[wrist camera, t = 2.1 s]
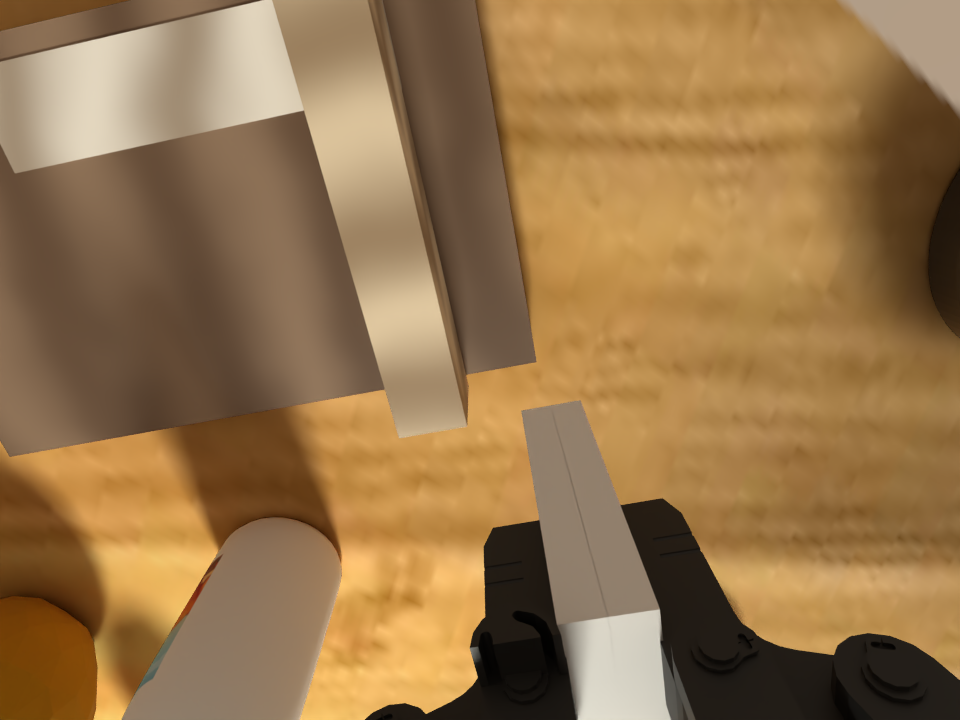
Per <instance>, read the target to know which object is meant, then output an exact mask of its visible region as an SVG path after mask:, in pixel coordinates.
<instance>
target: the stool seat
mask: <svg viewBox="0 0 960 720" xmlns="http://www.w3.org/2000/svg"><path fill="white" fill-rule="evenodd" d="M382 4H383V9H384V13H385V18H386V22H387V26H388V31H389V35H390V40H391V44H392V49H393V53H394V57H395V62H396V66H397V71H398V75H399V80H400V84H401V89H402V93H403V97H404V102H405V106H406V111H407V115H408V120H409V124H410V129H411V133H412V137H413V142H414V146H415V151H416V155H417V160H418V164H419V168H420V173H421V177H422V182H423V186H424V191H425V195H426V200H427V204H428V208H429V213H430V217H431V222H432V226H433V231H434V235H435V240H436V244H437V248H438V253H439V257H440V262H441V266H442V271H443V275H444V279H445V284H446V288H447V293H448V297H449V302H450V306H451V311H452V315H453V319H454V324H455V328H456V333H457V337H458V342H459V346H460V351H461V355H462V359H463V364H464V368H465V373H466V375H467V374H473V373H478V372H484V371H489V370H495V369H500V368H506V367H511V366H517V365H523V364H528V363H534V362H536V356H535V350H534V344H533V338H532V333H531V327H530V321H529V315H528V309H527V303H526V297H525V291H524V285H523V280H522V274H521V268H520V262H519V256H518V250H517V244H516V238H515V233H514V227H513V221H512V215H511V209H510V203H509V197H508V191H507V186H506V180H505V174H504V168H503V162H502V156H501V150H500V144H499V138H498V133H497V127H496V121H495V115H494V109H493V103H492V97H491V91H490V86H489V80H488V74H487V68H486V62H485V56H484V50H483V44H482V39H481V33H480V27H479V21H478V15H477V9H476V3H475V0H382ZM384 389H385V388H384V384H383V381H382V378H381V374H380V371H379V367H378V364H377V360H376V357H375V353H374V350H373V346H372V343H371V340H370V336H369V333H368V329H367V326H366V322H365V319H364V315H363V312H362V309H361V305H360V302H359V298H358V295H357V291H356V288H355V284H354V281H353V277H352V274H351V271H350V267H349V264H348V260H347V257H346V253H345V250H344V246H343V243H342V240H341V236H340V233H339V229H338V226H337V222H336V219H335V215H334V212H333V208H332V205H331V202H330V198H329V195H328V191H327V188H326V184H325V181H324V177H323V174H322V171H321V167H320V164H319V160H318V157H317V153H316V150H315V146H314V143H313V139H312V136H311V133H310V129H309V126H308V122H307V119H306V115H305V112H304V108H303V105H302V102H301V98H300V95H299V91H298V88H297V84H296V81H295V77H294V74H293V71H292V67H291V64H290V60H289V57H288V53H287V50H286V46H285V43H284V39H283V36H282V33H281V29H280V26H279V22H278V19H277V15H276V12H275V8H274V5H273V2H272V0H129V1H125V2H121V3H116V4H112V5H108V6H104V7H100V8H95V9H91V10H87V11H83V12H79V13H74V14H70V15H66V16H62V17H58V18H53V19H49V20H45V21H41V22H37V23H32V24H28V25H24V26H20V27H16V28H11V29H7V30H3V31H0V441H1V443H2V445H3V446H4V448H5V450H6V451H7V453H8V454H9V456H10V457H11V456H17V455H23V454H28V453H34V452H39V451H45V450H50V449H56V448H61V447H67V446H73V445H78V444H84V443H89V442H95V441H100V440H106V439H111V438H117V437H123V436H128V435H134V434H139V433H145V432H150V431H156V430H161V429H167V428H173V427H178V426H184V425H189V424H195V423H200V422H206V421H211V420H217V419H223V418H228V417H234V416H239V415H245V414H250V413H256V412H261V411H267V410H273V409H278V408H284V407H289V406H295V405H300V404H306V403H311V402H317V401H323V400H328V399H334V398H339V397H345V396H350V395H356V394H361V393H367V392H373V391H378V390H384Z"/></svg>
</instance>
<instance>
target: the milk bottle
mask: <svg viewBox="0 0 960 720" xmlns="http://www.w3.org/2000/svg"><path fill="white" fill-rule="evenodd" d="M341 577H342V568H341V563H340V559H339V556H338V553H337V551H336V549H335V548H334V546H333V544H332V543H331V542H330V541H329V540H328V538H327V537H326V536H325V535H323V534H322V533H321V532H320V531H318V530H317V529H315V528H313V527H311V526H310V525H308V524H306V523H303V522H300V521H297V520H294V519H288V518H279V517H270V518H262V519H258V520H255V521H252V522H250V523H248V524H246V525H244V526H242V527H240V528H239V529H237V530H236V531H234V532H233V533H232V534H231V535H230V536H229V537H228V538H227V540H226V541H225V543H224V544H223V546H222V547H221V549H220V550H219V552H218V553H217V555H216V557H215V558H214V560H213V562H212V563H211V565H210V567H209V568H208V570H207V572H206V573H205V575H204V577H203V578H202V580H201V582H200V583H199V585H198V587H197V588H196V590H195V592H194V593H193V595H192V597H191V598H190V600H189V602H188V603H187V605H186V607H185V608H184V610H183V612H182V613H181V615H180V617H179V618H178V620H177V622H176V623H175V625H174V627H173V628H172V630H171V632H170V633H169V635H168V637H167V639H166V640H165V642H164V644H163V645H162V647H161V649H160V651H159V652H158V654H157V656H156V657H155V659H154V661H153V662H152V664H151V666H150V668H149V669H148V671H147V673H146V674H145V676H144V678H143V680H142V682H141V683H140V685H139V687H138V689H137V691H136V693H135V694H134V696H133V698H132V700H131V702H130V704H129V705H128V707H127V709H126V711H125V713H124V715H123V718H122V720H300V717H301V714H302V710H303V707H304V704H305V701H306V697H307V694H308V691H309V688H310V684H311V681H312V678H313V675H314V671H315V668H316V665H317V661H318V658H319V655H320V651H321V648H322V645H323V641H324V638H325V635H326V631H327V628H328V624H329V621H330V618H331V614H332V611H333V607H334V604H335V601H336V597H337V594H338V590H339V586H340V582H341Z"/></svg>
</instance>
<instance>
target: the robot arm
mask: <svg viewBox="0 0 960 720" xmlns="http://www.w3.org/2000/svg"><path fill="white" fill-rule="evenodd" d="M929 280H930V286H931V291H932V295H933V298H934V301H935V304H936V306H937V309H938V311H939V313H940V315H941V317H942V318H943V320H944V321H945V323H946V324H947V325H948V327H949V328H950V329H951V330H952V331H953V332H954V333H955V334H956V335H957V336H958V337H959V338H960V170H959V172H958V173H957V175H956V177H955V178H954V180H953V182H952V184H951V186H950V188H949V190H948V191H947V194H946V196H945V198H944V200H943V202H942V205H941V207H940V210H939V213H938V215H937V219H936V222H935V225H934V229H933V233H932V238H931V243H930V250H929ZM522 417H523V423H524V429H525V435H526V441H527V447H528V453H529V460H530V466H531V472H532V478H533V484H534V490H535V496H536V502H537V508H538V514H539V520H538V521H532V522H526V523H520V524H514V525H508V526H502V527H496V528H493V529H492V531H491V533H490V535H489V537H488V539H487V541H486V543H485V545H484V568H485V571H484V577H485V618H484V619H482V621H481V622H480V624H479V625H478V627H477V628H476V629H475V631H474V632H473V636H472V640H471V645H470V650H471V654H472V658H473V661H474V665H475V668H476V672H477V675H478V679H477V680H476V682H475V683H474V684H473V686H471V687H470V688H469V689H468V690H467V691H466V692H465V693H464V694H463V695H461V696H460V697H458V698H457V699H455V700H453V701H452V702H450V703H448V704H446V705H444V706H442V707H440V708H438V709H436V710H434V711H432V712H430V713H428V714H425V713H424V712H423V711H422V710H421V709H420V708H418V707H415V706H412V705H409V704H406V703H404V704H394V705H388V706H386V707H384V708H382V709H379V710H377V711H375V712H373V713H372V714H370V715H369V716H368V717H367V718H366V719H365V720H670V718H671V720H960V680H959V679H958V678H956V677H955V676H954V675H953V674H952V673H950V672H949V671H948V670H947V669H946V668H945V667H943V666H942V665H941V664H940V663H939V662H937V661H936V660H935V659H934V658H932V657H931V656H929V655H928V654H926V653H925V652H923V651H922V650H920V649H919V648H917V647H916V646H914V645H912V644H910V643H907V642H905V641H902V640H899V639H897V638H894V637H891V636H886V635H878V634H870V633H867V634H861V635H856V636H850V637H849V638H847V639H846V640H845V641H843V642H842V643H840V644H839V645H838V646H837V649H836V651H835V654H834V655H828V654H821V653H814V652H807V651H799V650H794V649H789V648H785V647H780V646H778V645H775V644H773V643H770V642H768V641H765V640H764V639H762V638H760V637H759V636H757V635H756V634H755V632H754V631H753V630H751V629H750V628H748V627H747V626H745V625H743V624H742V623H741V622H740V620H739V619H738V617H737V616H736V614H735V613H734V612H733V610H732V608H731V606H730V604H729V602H728V600H727V598H726V596H725V595H724V593H723V591H722V589H721V587H720V585H719V583H718V581H717V579H716V577H715V576H714V574H713V572H712V570H711V568H710V566H709V564H708V562H707V560H706V559H705V557H704V555H703V553H702V552H701V551H700V547H699V545H698V543H697V542H696V540H695V538H694V536H692V532H691V530H690V528H689V526H688V525H687V523H686V521H685V519H684V517H683V515H682V513H681V512H679V511H678V510H677V509H676V508H674V507H673V506H672V505H670V504H669V503H668V502H667V501H665V500H664V499H663V498H662V499H656V500H650V501H644V502H638V503H632V504H626V505H620V503H619V500H618V498H617V495H616V493H615V490H614V487H613V485H612V482H611V480H610V477H609V474H608V472H607V469H606V466H605V464H604V461H603V459H602V456H601V453H600V451H599V448H598V445H597V443H596V440H595V438H594V435H593V432H592V430H591V427H590V424H589V422H588V419H587V417H586V414H585V411H584V409H583V406H582V403H581V401H574V402H568V403H563V404H557V405H551V406H546V407H540V408H534V409H529V410H523V411H522Z"/></svg>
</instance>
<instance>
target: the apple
mask: <svg viewBox="0 0 960 720" xmlns="http://www.w3.org/2000/svg"><path fill="white" fill-rule="evenodd" d="M96 694H97V661H96V654H95V648H94V642H93V640H92V638H91V635H90V633H89V631H88V629H87V628H86V627H85V626H84V625H82V624H81V623H80V622H79V621H77V620H76V619H75V618H73V617H72V616H71V615H70V614H68V613H67V612H66V611H64V610H62V609H60V608H58V607H56V606H55V605H53V604H51V603H49V602H47V601H45V600H43V599H42V598H33V597H21V596H11V597H7V598H2V599H0V720H93V719H94V715H95V711H96Z"/></svg>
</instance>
